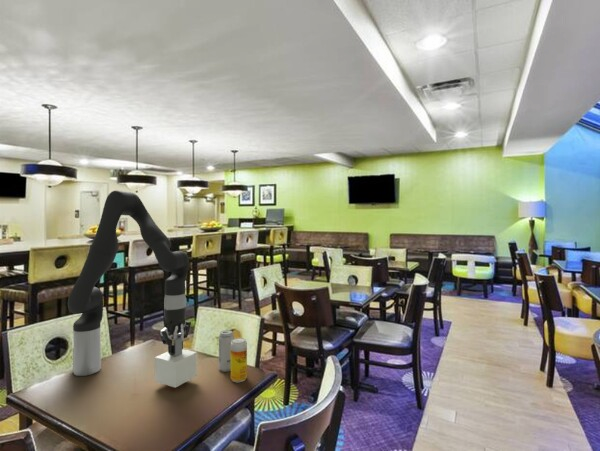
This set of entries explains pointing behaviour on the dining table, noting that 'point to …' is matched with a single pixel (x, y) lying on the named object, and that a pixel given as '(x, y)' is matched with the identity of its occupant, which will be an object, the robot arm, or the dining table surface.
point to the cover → (176, 366)
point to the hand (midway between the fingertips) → (175, 352)
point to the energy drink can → (225, 350)
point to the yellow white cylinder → (238, 359)
